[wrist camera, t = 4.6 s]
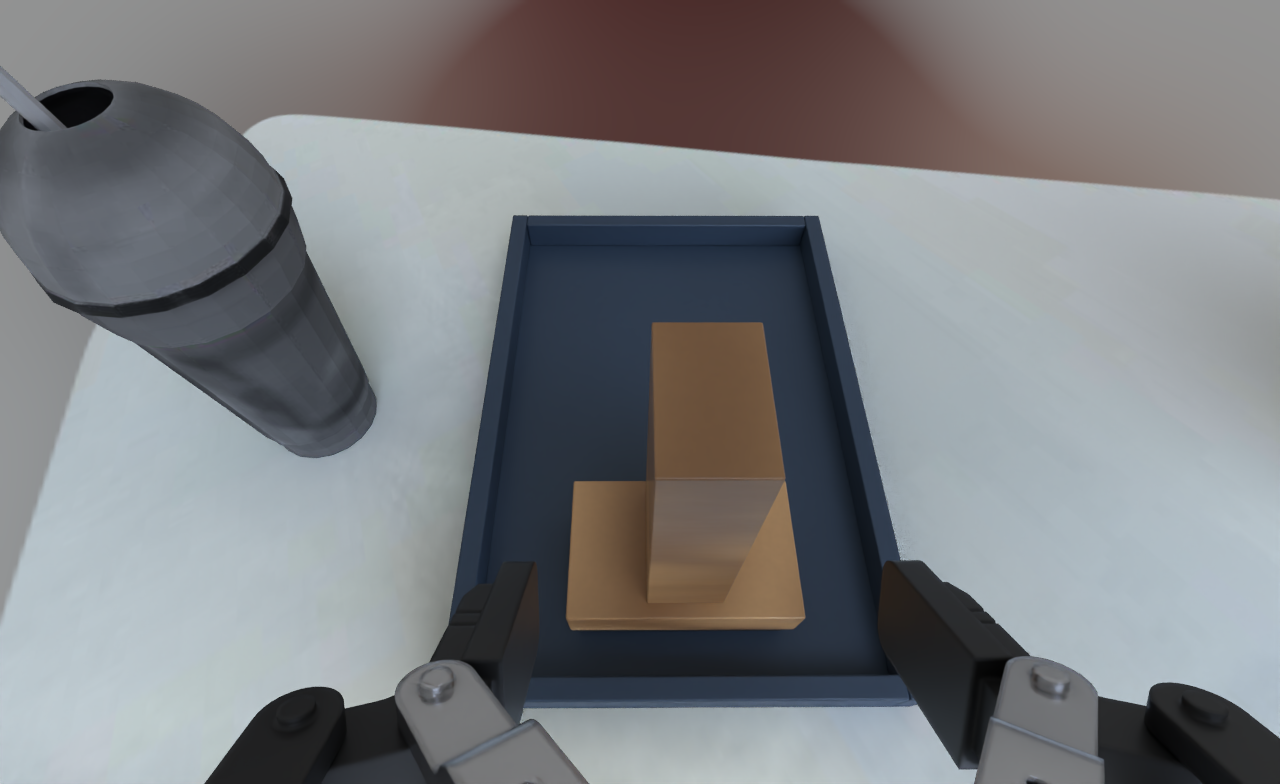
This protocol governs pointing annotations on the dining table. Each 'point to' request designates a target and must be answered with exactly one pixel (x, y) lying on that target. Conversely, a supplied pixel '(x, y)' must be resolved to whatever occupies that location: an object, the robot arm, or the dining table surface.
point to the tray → (617, 451)
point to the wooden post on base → (693, 500)
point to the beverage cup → (180, 252)
